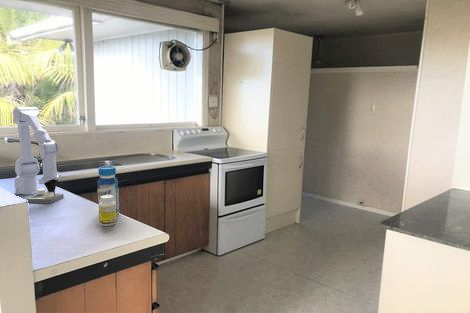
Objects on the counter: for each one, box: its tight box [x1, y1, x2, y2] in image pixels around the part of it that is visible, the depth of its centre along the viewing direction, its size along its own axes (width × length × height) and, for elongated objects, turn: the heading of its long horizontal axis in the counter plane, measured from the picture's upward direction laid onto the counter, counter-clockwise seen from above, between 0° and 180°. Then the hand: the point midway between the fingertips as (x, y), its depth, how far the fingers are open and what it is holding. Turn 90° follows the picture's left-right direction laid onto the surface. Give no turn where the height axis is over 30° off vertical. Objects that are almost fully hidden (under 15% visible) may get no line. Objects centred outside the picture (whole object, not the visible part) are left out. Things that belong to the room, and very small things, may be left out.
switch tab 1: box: [35, 188, 46, 195], centre depth 172 cm, size 3×2×2 cm
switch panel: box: [26, 193, 65, 204], centre depth 170 cm, size 12×10×2 cm
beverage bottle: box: [96, 165, 120, 215], centre depth 150 cm, size 8×8×20 cm
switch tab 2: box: [44, 191, 54, 198], centre depth 167 cm, size 3×2×2 cm
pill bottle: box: [98, 195, 118, 227], centre depth 138 cm, size 6×6×11 cm
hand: (51, 195), depth 169 cm, fingers closed
